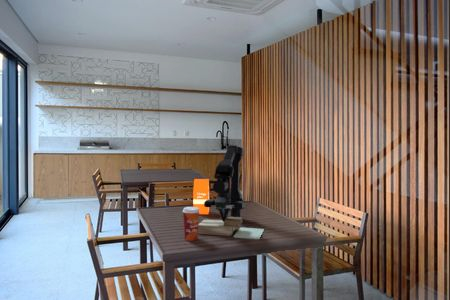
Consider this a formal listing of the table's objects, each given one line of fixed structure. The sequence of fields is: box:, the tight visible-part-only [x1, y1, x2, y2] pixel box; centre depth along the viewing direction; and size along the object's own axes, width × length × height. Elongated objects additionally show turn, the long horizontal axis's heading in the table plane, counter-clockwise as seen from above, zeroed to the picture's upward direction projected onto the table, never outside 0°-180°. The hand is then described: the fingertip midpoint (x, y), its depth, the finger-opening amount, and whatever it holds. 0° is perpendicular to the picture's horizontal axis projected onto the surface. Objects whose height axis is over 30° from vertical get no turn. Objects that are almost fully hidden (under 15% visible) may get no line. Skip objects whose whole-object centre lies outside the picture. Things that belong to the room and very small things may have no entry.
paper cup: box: [182, 206, 200, 242], centre depth 165 cm, size 8×8×14 cm
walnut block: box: [224, 216, 243, 228], centre depth 175 cm, size 9×7×2 cm
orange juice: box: [192, 178, 210, 215], centre depth 216 cm, size 8×9×20 cm
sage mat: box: [233, 226, 265, 240], centre depth 174 cm, size 16×12×1 cm
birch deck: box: [198, 218, 237, 237], centre depth 178 cm, size 12×16×4 cm
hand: (224, 221), depth 177 cm, fingers closed
